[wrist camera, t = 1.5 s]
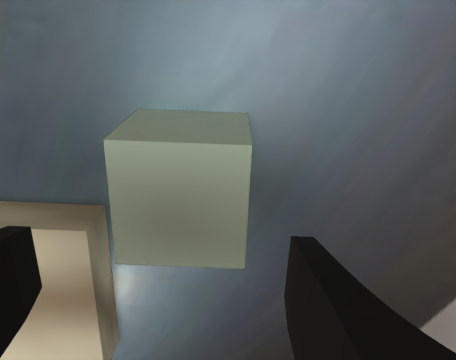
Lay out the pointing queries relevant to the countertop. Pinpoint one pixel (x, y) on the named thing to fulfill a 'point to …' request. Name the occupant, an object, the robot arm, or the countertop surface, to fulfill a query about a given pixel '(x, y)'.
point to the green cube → (180, 188)
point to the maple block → (66, 283)
